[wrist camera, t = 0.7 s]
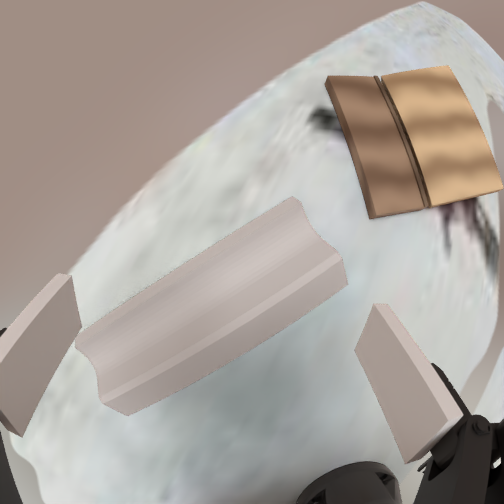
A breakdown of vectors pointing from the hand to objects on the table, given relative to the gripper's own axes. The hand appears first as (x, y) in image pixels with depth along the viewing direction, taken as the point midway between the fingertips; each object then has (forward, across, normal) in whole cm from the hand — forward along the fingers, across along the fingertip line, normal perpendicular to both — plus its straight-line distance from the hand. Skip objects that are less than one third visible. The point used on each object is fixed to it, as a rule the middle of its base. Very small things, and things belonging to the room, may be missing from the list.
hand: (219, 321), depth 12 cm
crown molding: (+17, +2, +12) cm, 21 cm away
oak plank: (+24, -28, -14) cm, 39 cm away
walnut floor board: (+26, -18, -9) cm, 33 cm away
